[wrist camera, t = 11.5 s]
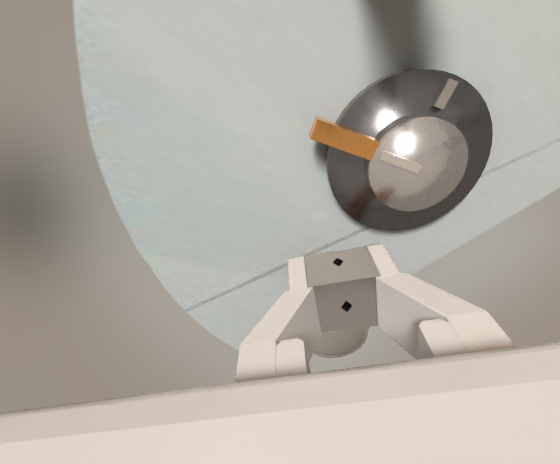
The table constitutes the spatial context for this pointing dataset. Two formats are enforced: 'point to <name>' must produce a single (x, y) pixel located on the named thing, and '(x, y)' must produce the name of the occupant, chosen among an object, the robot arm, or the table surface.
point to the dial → (404, 158)
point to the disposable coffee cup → (341, 342)
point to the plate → (393, 105)
